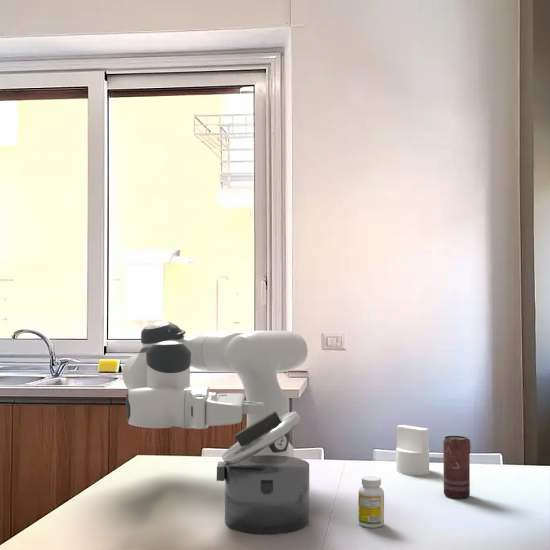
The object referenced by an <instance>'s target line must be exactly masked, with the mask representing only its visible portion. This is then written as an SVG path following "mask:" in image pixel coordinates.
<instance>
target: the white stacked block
mask: <svg viewBox="0 0 550 550" xmlns="http://www.w3.org/2000/svg"><path fill="white" fill-rule="evenodd" d="M429 437H430V436H429V428H425V427H421V426H420V427H419V426H414V425H412V426H411V425H405V424H400V425H397V426H396V448H395V461H396V462H395V470H396V471H395V472H397V473H398V472H399V473H398V474H401V473H402V475H406V474H408V475H407V476H422V475H428V474H429V473H430V450H429V446H430V444H429ZM427 473H428V474H427Z"/></svg>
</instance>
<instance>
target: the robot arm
mask: <svg viewBox="0 0 550 550" xmlns="http://www.w3.org/2000/svg"><path fill="white" fill-rule="evenodd" d="M185 334H186V330H185V329H182V328H180V327H179V326H178V325H177V324H175V323H173V322H170V321H162V320H160V321H155V322H152V323H150V324H149V325H147V326H145V327H143V328H142V330H141V334H140V343H141V344H142V348H141V349H140V351H139V353H138V354H134V355H132V356H130V357H128V359H126V361H125V362H124V365H123V366H122V375H121V376H122V379H123V383H124V385H125V387H126V389H127V393H126V395H125V416H126V418H125V419H126V422H127V423H128V424H129V425H131V426H135V427H141V428H149V429H150V428H151V429H168V428H176V427H177V428H178V427H179V428H182V429H196V430H204V429H208V428H209V427H214V426H215V427H216V426H217V427H219V426H229V425H236V424H237V425H238V424H240V423H242V421H243V416H244V415H246V426H245V427H244V426H243V427H241V429H242V430H243V429H245V428H247V427H249V426H250V425H252V424H254V423H255V422H257V421H259V420H260V419H262V418H264V417H265V416H267V415H269V414H271V413H272V412H274V411H276V412H277V414H278V415H279V417H280V416H282V415H284V414H287V413H290V398H289V397H290V396H289V395H288V393H287V392H286V391H285V390H283V389H282V387H281V386H280V383H279V380H278V377H277V376H278V375H277V373H286V372H289V371H291V370H294V369H297V368H299V367H301V366H302V365H304V363H305V361H306V359H307V357H308V351H309V350H308V345H307V342H306V340H305V338H304V337H303V336H302V335H300V334H299V333H296V332H293V331H289V330H288V331H287V330H284V329H283V330H279V329H278V330H277V329H276V330H248V331H247V330H242V331H241V330H240V331H234V330H233V331H209V332H202V333H198V334H197V333H196V334H195V335H192V336H185ZM191 367H192V368H194V369H198V370H200V371H201V370H202V371H206V372H217V373H218V372H222V373H236V374H237V376H238V378H239V379H240V381H241V384H242V386H243V390H244V393H240V392H236V393H235V392H231V393H226V392H225V393H224V392H223V393H217V392H210V387H209V386H191ZM291 440H292V430H290V431H289V432H288V433H287V434H285V435H284V436H283V437H281V438H280V439H278V440H277V441H275V442H274V443H272V444H271V445H269V446H268V447H266V448H265V449H263V450H261V451H259V452H258V453H256V454H254V455H252V456H258V455H276V456H288V457H294V458H295V451H294V447H293V445H292V444H291V443H290V442H291Z"/></svg>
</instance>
